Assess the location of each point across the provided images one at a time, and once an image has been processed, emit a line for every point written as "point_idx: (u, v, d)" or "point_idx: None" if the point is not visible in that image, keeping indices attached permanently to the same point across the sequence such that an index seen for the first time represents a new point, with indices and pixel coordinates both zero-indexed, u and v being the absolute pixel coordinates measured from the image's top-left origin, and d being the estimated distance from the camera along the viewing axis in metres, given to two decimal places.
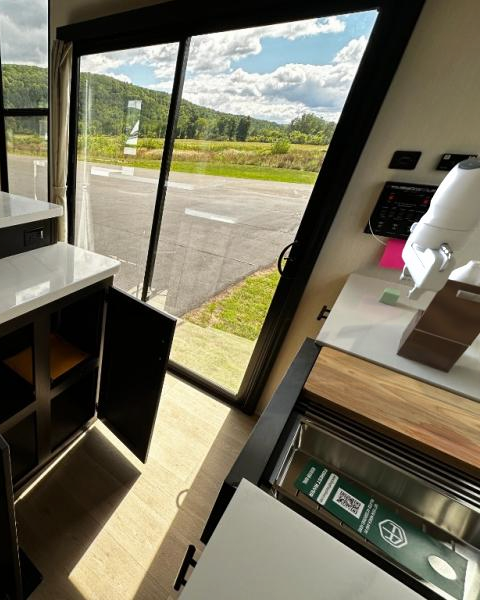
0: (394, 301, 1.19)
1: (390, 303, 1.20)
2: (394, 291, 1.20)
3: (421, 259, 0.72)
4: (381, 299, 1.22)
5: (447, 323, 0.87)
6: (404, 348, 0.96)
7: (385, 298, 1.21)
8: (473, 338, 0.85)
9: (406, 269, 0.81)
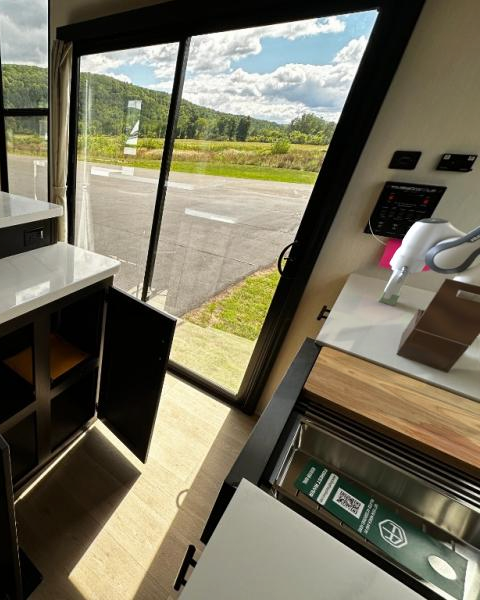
0: (394, 301, 1.19)
1: (390, 303, 1.20)
2: None
3: (393, 275, 1.16)
4: (381, 299, 1.22)
5: (447, 323, 0.87)
6: (404, 348, 0.96)
7: (385, 298, 1.21)
8: (473, 338, 0.85)
9: None
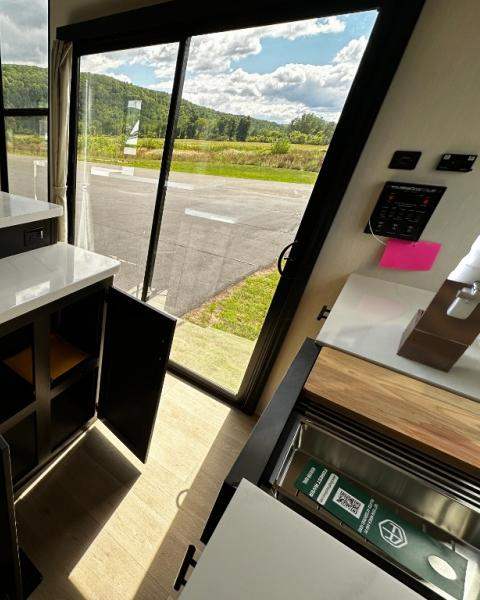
0: None
1: None
2: None
3: None
4: None
5: (447, 323, 0.87)
6: (404, 348, 0.96)
7: None
8: (473, 338, 0.85)
9: None
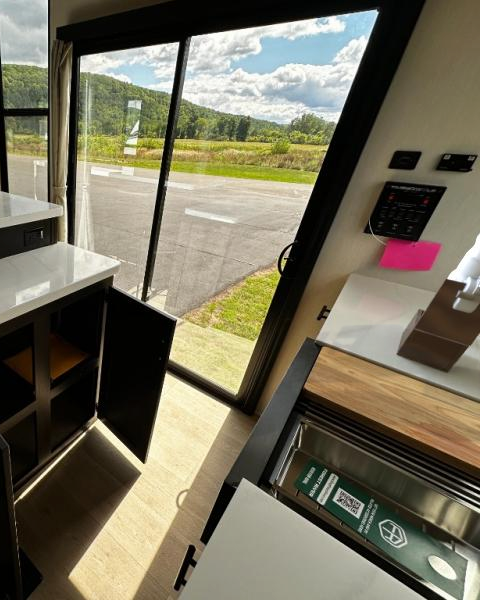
0: None
1: None
2: None
3: None
4: None
5: (447, 323, 0.87)
6: (404, 348, 0.96)
7: None
8: (473, 338, 0.85)
9: None
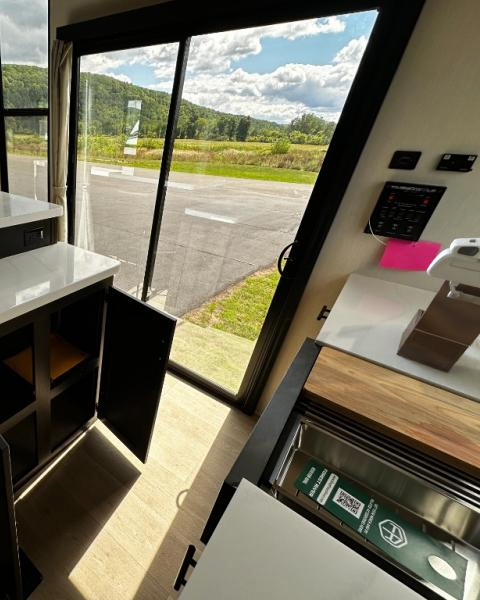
0: None
1: None
2: None
3: None
4: None
5: (447, 324, 0.87)
6: (404, 348, 0.96)
7: None
8: (473, 338, 0.84)
9: (454, 287, 0.82)
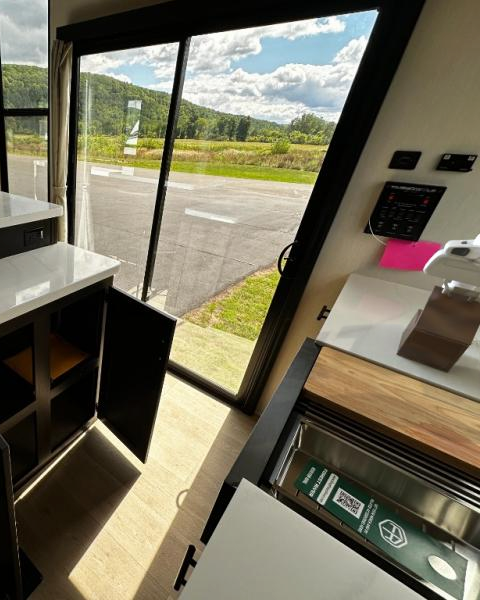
0: None
1: None
2: None
3: None
4: None
5: (444, 323, 0.90)
6: (404, 348, 0.96)
7: None
8: (471, 337, 0.86)
9: (447, 284, 0.90)
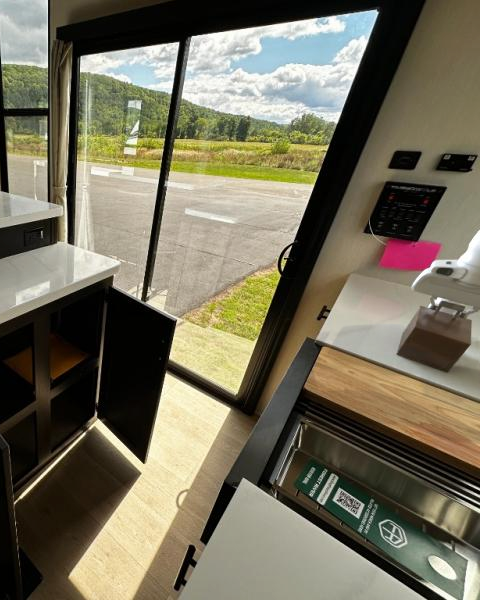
0: None
1: None
2: None
3: (477, 292, 0.89)
4: None
5: (440, 328, 0.91)
6: (404, 348, 0.96)
7: None
8: (469, 340, 0.87)
9: (433, 300, 0.97)
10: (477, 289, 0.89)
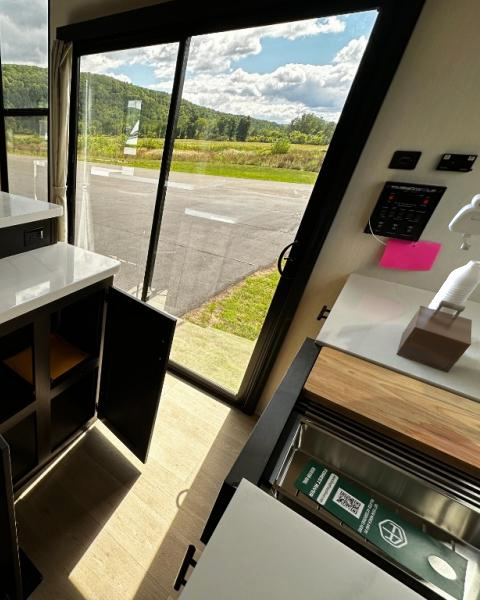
0: None
1: None
2: None
3: None
4: None
5: (440, 328, 0.91)
6: (404, 348, 0.96)
7: None
8: (469, 340, 0.87)
9: (466, 239, 0.87)
10: None
